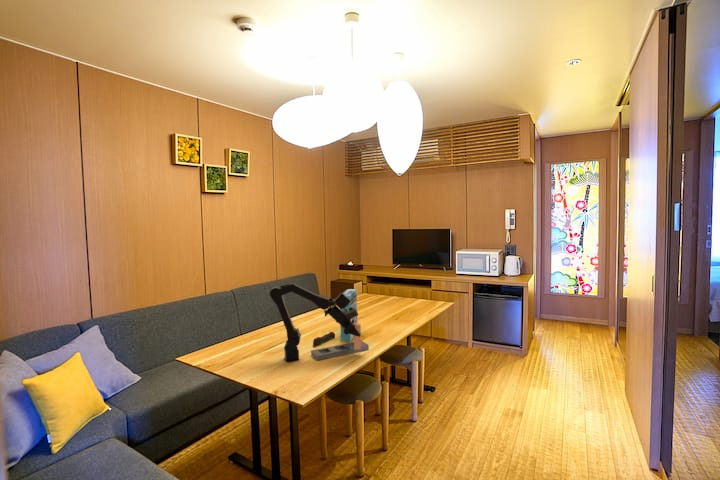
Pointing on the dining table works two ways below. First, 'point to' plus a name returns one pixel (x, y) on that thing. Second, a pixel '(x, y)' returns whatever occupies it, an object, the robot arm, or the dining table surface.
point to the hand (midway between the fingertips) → (359, 334)
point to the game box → (353, 297)
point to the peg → (357, 339)
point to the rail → (337, 350)
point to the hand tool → (323, 339)
